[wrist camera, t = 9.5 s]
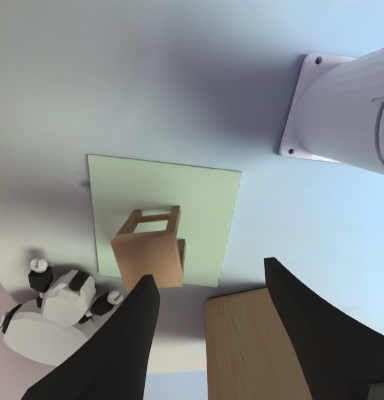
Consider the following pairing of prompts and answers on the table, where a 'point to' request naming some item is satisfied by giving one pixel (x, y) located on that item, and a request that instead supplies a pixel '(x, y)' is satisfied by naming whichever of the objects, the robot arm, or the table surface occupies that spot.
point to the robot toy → (55, 315)
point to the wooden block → (250, 350)
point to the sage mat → (165, 209)
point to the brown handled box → (150, 251)
